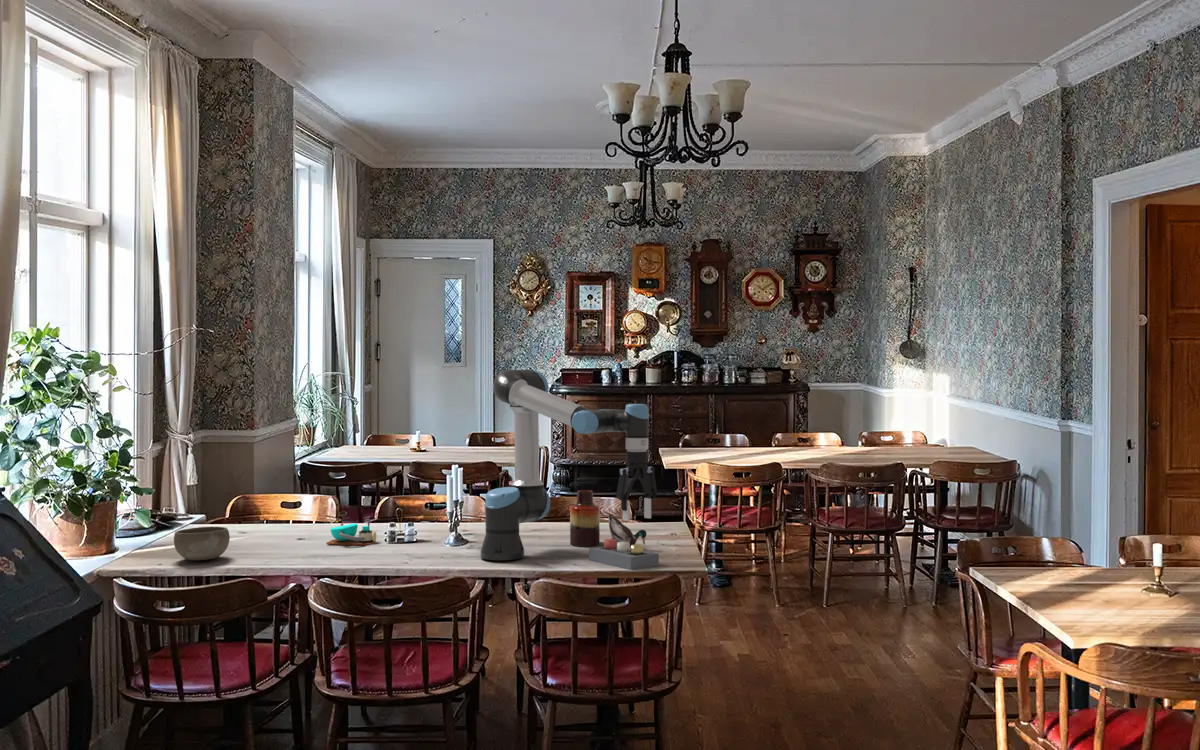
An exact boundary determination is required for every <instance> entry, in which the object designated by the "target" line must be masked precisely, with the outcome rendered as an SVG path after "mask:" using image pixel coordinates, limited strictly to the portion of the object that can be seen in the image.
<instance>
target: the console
mask: <svg viewBox="0 0 1200 750" xmlns="http://www.w3.org/2000/svg"><path fill="white" fill-rule="evenodd" d="M588 560H589V561H591V562H596V563H600V564H604V565H605V564H606V565H608V566H613V567H618V568H621V569H625V570H630V571H631V570H637V569H644V568H651V567H658V566H659V564H660V561H659V560H660V559H659V553H658V552H653V551H650V550H649V551H648V550H644V549H643V555H638V556H635V555H631V548H630V552H625V553H621V552H617V544H616V549H613V550H607V549H604V545H603V546H595V547H588Z"/></svg>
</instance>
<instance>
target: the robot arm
mask: <svg viewBox="0 0 1200 750" xmlns="http://www.w3.org/2000/svg"><path fill="white" fill-rule="evenodd" d="M492 389H493V393H494V395H495V397H496V398H497V399H498V400H500V401H501V402H503V403H505V404H508V405H509V408H510V409H511V410H512V411H513V416H514V420H513V421H514V422H513V423H514V481H513V482H512V483H510V486H505V487H503V486H502V487H497V488H494V489H490V490H489V491H487V493H486V494H485V503H484V505H485V507H484V508H485V509H484V511H485V514H484V515H485V516H484V517H485V536H484V539H483V542H482V545H481V548H480V558H481V559H483V560H487V561H489V560H490V561H511V560H512V561H513V560H519V559H522V558H524V557H525V548H524V544H523V542H522V539H521V535H520V524H523V523H529V522H531V523H533V522H536V521H538V520H542V519H543V518H544V517H545V516H546V515H547V514H548V512H549V511H550V507H551V497H550V495H549V493H548V491H547V490H546V489H545V488H544V487H545V486H544V482H543V481H542V480H541V479H540V446H539V445H540V438H539V437H540V434H539V433H540V432H539V430H540V429H539V414H540V415H543V416H545V417H547V418H550V419H552V420H555V421H557V422H560V423H562V424H565V425H567V426H569V427H571V428H573V430H574V431H575V432H576V433H578V434H582V435H590V434H601V433H614V432H615V433H625V450H626V452H625V462H626V467H625V468H619V469H618V475H619V477H618V482H617V488H616V496H615V498H616V499H617V500H619V501H620V507H621V508H620V509H621V511H622V521H626V522H629V521H631V520H630V519H631V515H630V512H631V511H630V509H631V506H630V503H631V501H630V500H629V498H630V494H631V492H632V489H633V486H634V483H635V482H636V480H639V482H640V484H641V486H642V489H643V492H644V494H645V497H644V501H643V502H644V503H643V507H644V508H643V511H644V512H643V516H644V517H643V518H645V519H652V508H653V502H654V501H653V499H655V498H656V497H657V496H658V489H657V483H656V477H655V476H656V475H655V473H656V472H655V471H656V468H655V466H648V463H649V451H647V450H649V420H650V419H649V418H650V416H649V407H648V405H647V404H645V403H628V404H626V405H625V409H617V408H616V409H610V408H602V409H590V408H587V407H585V406H583V405H581V404H577V403H575V402H573V401H570V400H567V399H564V398H562V397H560V396H556V395H555V394H553V393H550V392H549V382H548V379H547V378H546V376H545V375H543V373H542V372H541V371H539V370H535V369H506V370H502V371H501V372H499V373H498V374H497V375H496V377H495V378H494V380H493V386H492Z"/></svg>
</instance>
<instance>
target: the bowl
mask: <svg viewBox="0 0 1200 750" xmlns="http://www.w3.org/2000/svg"><path fill="white" fill-rule="evenodd" d="M230 538H231V537H230V532H229V529H228V527H226V526H225V527H223V526H199V527H191V528H190V527H189V528H184V529H180V530H177V531H175V532H174V535H173V545H174V548H175V551H176V552H177V553H178V555H180V557H182V558H184V559H185V560H189V561H205V560H206V561H207V560H213V559H217V558H218V557H220V556H222V555H223V554H224V553H225V552H226V550H227V548H228V546H229V544H230Z"/></svg>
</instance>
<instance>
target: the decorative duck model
mask: <svg viewBox="0 0 1200 750" xmlns="http://www.w3.org/2000/svg"><path fill="white" fill-rule="evenodd" d="M607 519H608V526H609V533H610V535H611V537H612V538H611V539H615V540H616V545H617V542H629V543H630V548H631V545H636V543H637V541H638V539H639V538H641V539H642V545H646V537H647V530H645V529H639V530H638V531H637V532H636V533H635V534H634V533H633V532H632V530H631V529H630V528H629V527H627V526H626V525H624V524H623V523H622V522H621V521H620V520H619V519H618V518H617V517H616V516H615V515H614V514H610V513H609V514H608V518H607Z"/></svg>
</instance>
